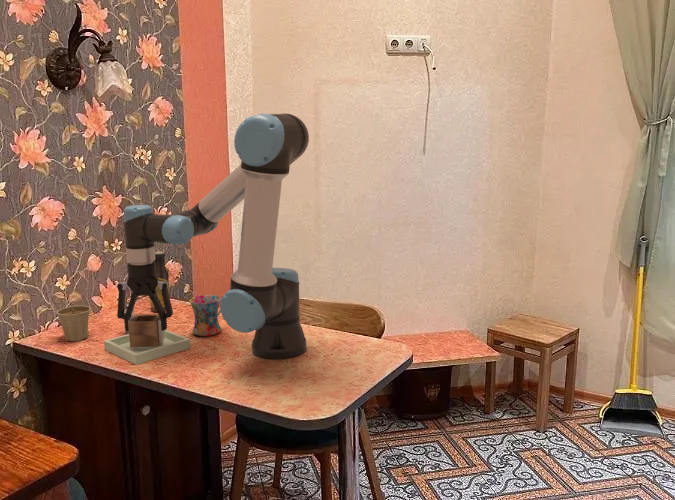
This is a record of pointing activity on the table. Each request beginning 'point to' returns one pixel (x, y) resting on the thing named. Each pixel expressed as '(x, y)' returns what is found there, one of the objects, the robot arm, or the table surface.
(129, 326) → the collar
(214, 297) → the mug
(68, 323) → the flower pot
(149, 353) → the tray
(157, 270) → the sauce bottle
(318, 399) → the table surface
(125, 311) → the grey salt shaker
